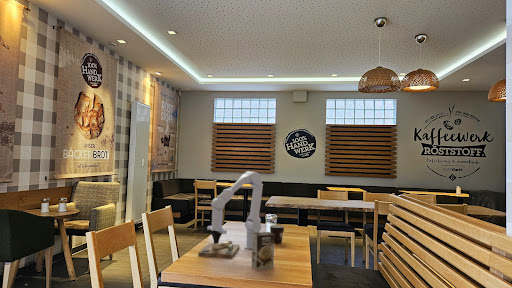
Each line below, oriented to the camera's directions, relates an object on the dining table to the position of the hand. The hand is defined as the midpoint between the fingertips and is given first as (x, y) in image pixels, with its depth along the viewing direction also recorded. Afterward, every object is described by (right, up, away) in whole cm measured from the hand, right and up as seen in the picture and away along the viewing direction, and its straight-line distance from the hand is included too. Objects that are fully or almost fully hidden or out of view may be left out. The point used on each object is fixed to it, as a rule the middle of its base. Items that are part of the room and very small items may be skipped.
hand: (216, 244), depth 192 cm
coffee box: (+25, -4, -25) cm, 35 cm away
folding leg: (+3, -1, +1) cm, 4 cm away
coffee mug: (+36, -6, +24) cm, 44 cm away
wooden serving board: (+2, -4, -1) cm, 4 cm away
